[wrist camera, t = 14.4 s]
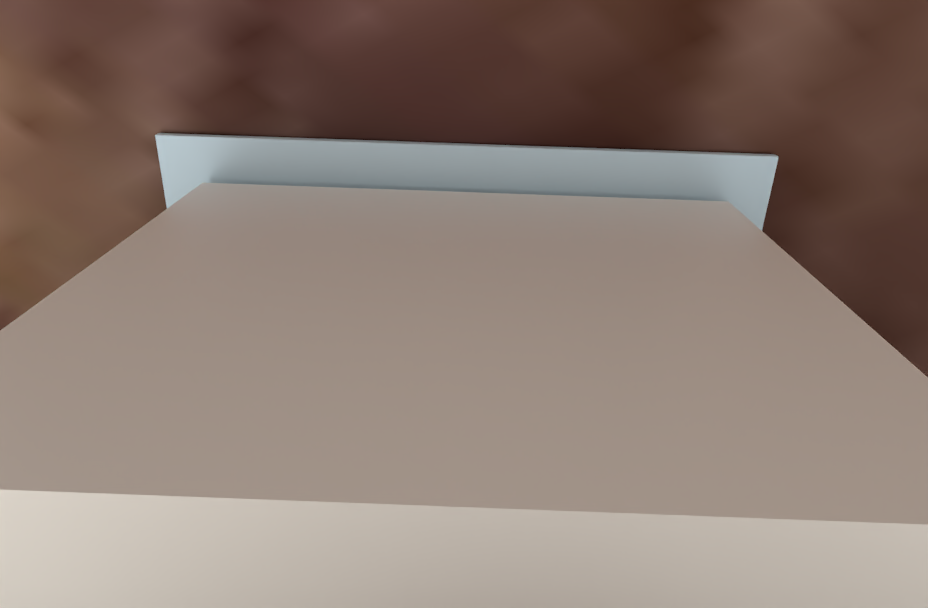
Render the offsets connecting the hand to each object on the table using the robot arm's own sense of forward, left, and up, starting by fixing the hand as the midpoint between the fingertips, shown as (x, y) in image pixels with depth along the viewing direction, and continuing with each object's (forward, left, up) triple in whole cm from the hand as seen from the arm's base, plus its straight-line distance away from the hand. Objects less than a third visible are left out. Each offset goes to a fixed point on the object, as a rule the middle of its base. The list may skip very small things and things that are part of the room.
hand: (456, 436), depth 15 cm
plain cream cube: (0, 0, -1) cm, 1 cm away
